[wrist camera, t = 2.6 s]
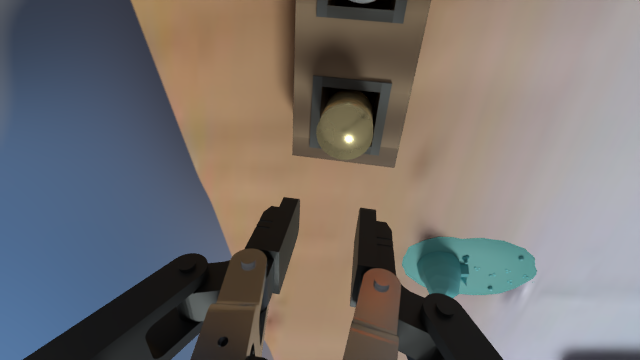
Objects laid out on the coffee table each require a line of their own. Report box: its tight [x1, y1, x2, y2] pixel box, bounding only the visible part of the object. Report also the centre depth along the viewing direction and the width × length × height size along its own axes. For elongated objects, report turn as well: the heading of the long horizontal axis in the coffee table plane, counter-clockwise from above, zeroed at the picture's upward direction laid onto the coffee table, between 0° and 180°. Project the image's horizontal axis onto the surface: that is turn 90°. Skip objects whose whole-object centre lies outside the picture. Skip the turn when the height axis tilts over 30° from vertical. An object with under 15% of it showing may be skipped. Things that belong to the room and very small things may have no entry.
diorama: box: [402, 237, 537, 298], centre depth 38 cm, size 12×20×9 cm, turn 90°
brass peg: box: [316, 89, 373, 160], centre depth 26 cm, size 4×4×6 cm
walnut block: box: [292, 0, 431, 168], centre depth 26 cm, size 20×10×6 cm, turn 176°
